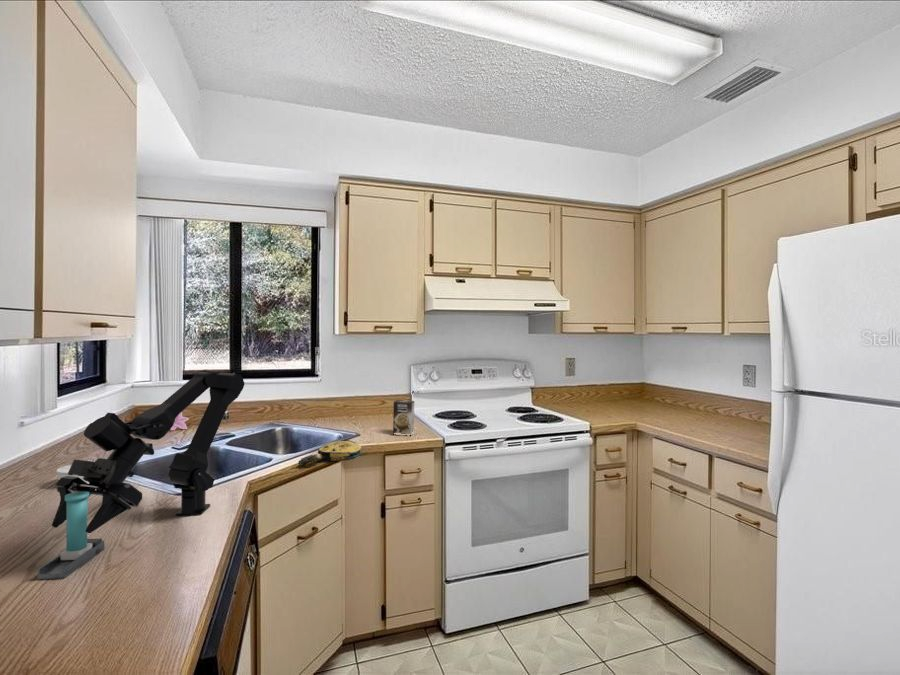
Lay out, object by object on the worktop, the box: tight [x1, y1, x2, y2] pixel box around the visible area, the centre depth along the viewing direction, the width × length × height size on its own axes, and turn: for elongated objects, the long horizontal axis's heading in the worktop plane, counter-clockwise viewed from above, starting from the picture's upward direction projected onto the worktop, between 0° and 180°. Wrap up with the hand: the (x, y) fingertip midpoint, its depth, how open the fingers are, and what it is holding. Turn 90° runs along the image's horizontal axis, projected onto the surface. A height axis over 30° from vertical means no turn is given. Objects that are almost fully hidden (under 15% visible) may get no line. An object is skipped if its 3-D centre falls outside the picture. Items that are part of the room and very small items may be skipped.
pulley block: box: [297, 439, 371, 466], centre depth 177 cm, size 14×6×30 cm
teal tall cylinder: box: [59, 491, 92, 560], centre depth 96 cm, size 4×4×13 cm
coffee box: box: [392, 399, 415, 434], centre depth 221 cm, size 9×6×16 cm
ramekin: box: [55, 463, 89, 483], centre depth 145 cm, size 11×11×5 cm
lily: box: [170, 411, 190, 431], centre depth 224 cm, size 12×12×10 cm
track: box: [37, 538, 105, 580], centre depth 95 cm, size 12×5×3 cm, turn 6°
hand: (70, 529), depth 95 cm, fingers open, 9 cm apart
